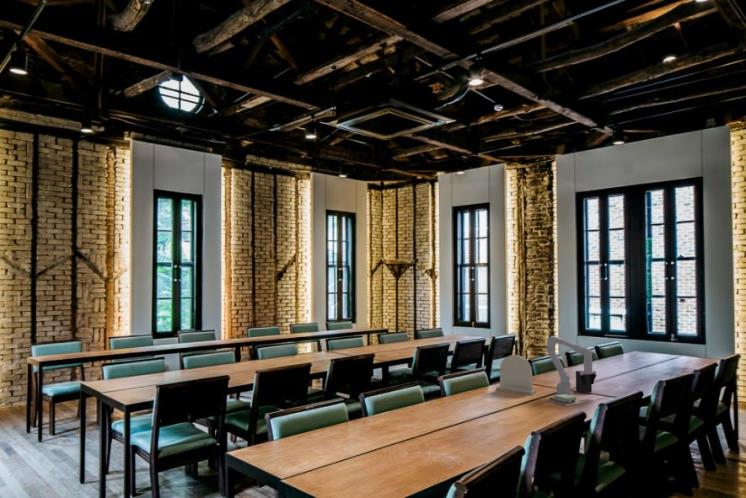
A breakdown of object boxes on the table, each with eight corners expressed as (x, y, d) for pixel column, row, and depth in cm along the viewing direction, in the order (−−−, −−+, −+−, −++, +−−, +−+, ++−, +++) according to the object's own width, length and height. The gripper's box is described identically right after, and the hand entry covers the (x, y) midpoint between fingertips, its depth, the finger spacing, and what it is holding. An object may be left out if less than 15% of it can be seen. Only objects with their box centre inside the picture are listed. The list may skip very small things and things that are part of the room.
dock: (548, 400, 363) (548, 397, 363) (569, 397, 372) (569, 394, 372) (566, 405, 349) (566, 402, 349) (587, 402, 358) (587, 399, 358)
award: (536, 393, 386) (535, 356, 388) (532, 395, 379) (531, 357, 381) (500, 388, 403) (500, 352, 404) (496, 390, 396) (495, 354, 397)
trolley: (554, 400, 361) (554, 395, 361) (564, 399, 366) (564, 394, 366) (566, 403, 352) (565, 398, 353) (576, 402, 357) (576, 397, 357)
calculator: (590, 390, 398) (590, 371, 398) (592, 391, 393) (591, 372, 394) (575, 390, 399) (575, 370, 399) (577, 391, 394) (576, 371, 395)
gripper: (585, 367, 368) (585, 386, 368) (599, 365, 375) (599, 384, 374) (577, 365, 375) (577, 384, 374) (591, 364, 381) (591, 382, 381)
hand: (588, 384), depth 375 cm, fingers open, 7 cm apart
